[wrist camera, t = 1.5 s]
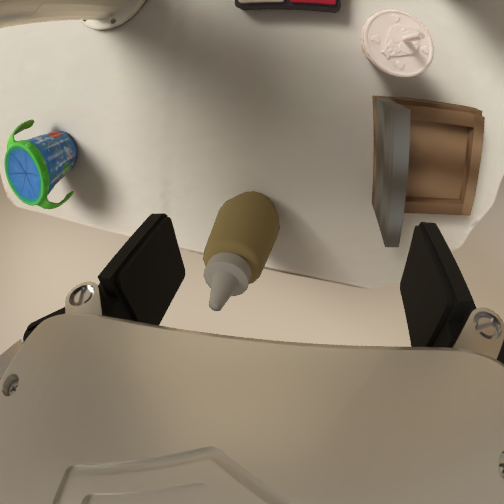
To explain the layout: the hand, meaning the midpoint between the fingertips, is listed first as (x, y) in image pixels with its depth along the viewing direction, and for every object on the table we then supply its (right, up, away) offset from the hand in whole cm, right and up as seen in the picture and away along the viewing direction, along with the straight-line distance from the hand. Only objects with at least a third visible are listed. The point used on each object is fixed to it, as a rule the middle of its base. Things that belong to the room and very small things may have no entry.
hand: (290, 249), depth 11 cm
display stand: (+20, +12, +19) cm, 30 cm away
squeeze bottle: (-1, +6, +30) cm, 30 cm away
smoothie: (+12, +23, +13) cm, 29 cm away
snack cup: (-33, +17, +29) cm, 47 cm away
